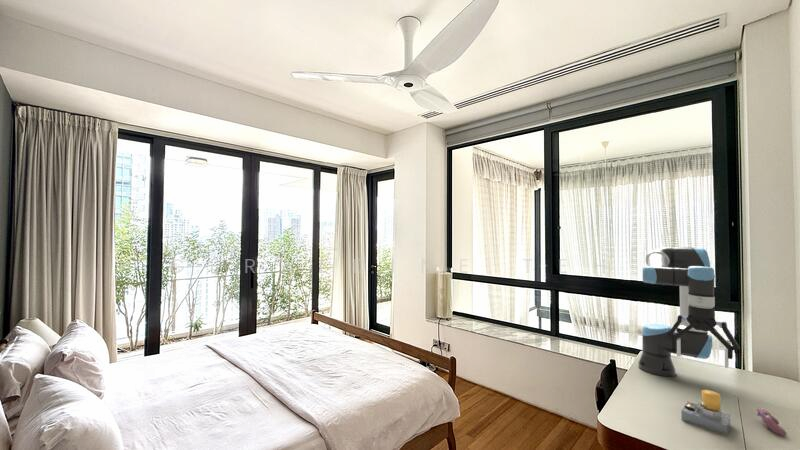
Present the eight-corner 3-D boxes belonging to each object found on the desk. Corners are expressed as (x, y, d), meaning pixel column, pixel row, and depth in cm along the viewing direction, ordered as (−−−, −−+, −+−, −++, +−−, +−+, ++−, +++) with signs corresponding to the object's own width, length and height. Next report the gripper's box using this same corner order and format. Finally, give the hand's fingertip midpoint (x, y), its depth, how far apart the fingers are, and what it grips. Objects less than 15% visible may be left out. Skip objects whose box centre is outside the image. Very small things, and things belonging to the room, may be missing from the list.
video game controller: (763, 425, 121) (751, 405, 123) (779, 423, 118) (766, 403, 120) (771, 437, 113) (757, 416, 115) (788, 436, 111) (774, 415, 113)
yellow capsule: (701, 414, 118) (700, 392, 119) (703, 409, 122) (702, 388, 122) (719, 420, 114) (719, 397, 115) (721, 415, 118) (721, 393, 118)
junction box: (681, 419, 120) (681, 403, 121) (687, 410, 127) (687, 395, 128) (726, 435, 111) (726, 418, 111) (730, 424, 118) (730, 408, 118)
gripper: (658, 301, 131) (658, 353, 131) (747, 314, 112) (748, 375, 111) (662, 299, 136) (663, 349, 135) (749, 311, 116) (749, 369, 116)
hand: (701, 360), depth 123 cm, fingers open, 13 cm apart
